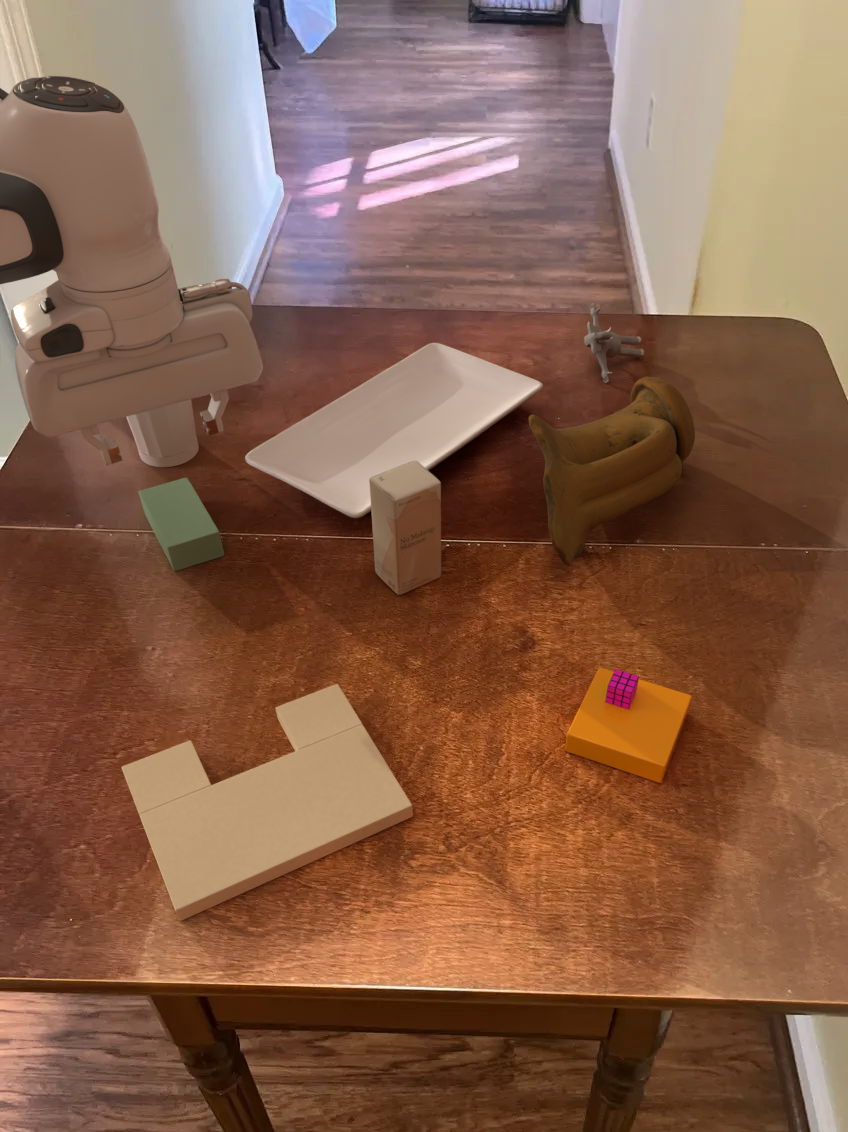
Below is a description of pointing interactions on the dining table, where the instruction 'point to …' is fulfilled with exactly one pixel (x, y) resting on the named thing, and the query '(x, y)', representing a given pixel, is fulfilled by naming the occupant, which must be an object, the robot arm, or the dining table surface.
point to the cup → (165, 434)
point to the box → (406, 526)
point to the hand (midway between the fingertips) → (164, 445)
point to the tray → (393, 425)
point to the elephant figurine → (608, 343)
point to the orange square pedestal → (628, 724)
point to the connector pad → (181, 524)
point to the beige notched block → (265, 805)
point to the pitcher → (612, 462)
